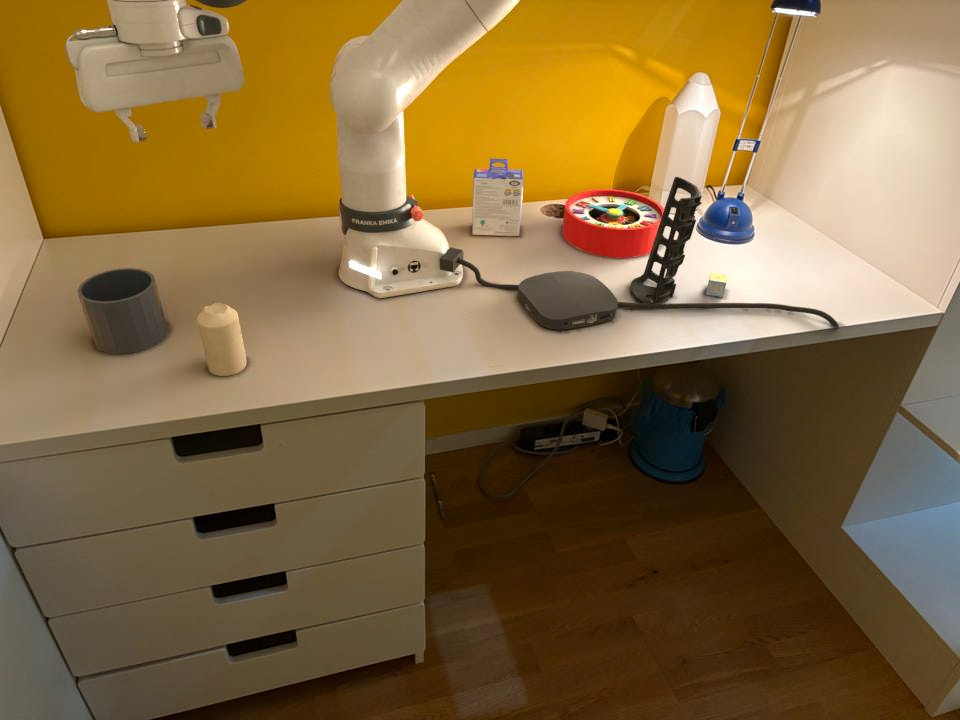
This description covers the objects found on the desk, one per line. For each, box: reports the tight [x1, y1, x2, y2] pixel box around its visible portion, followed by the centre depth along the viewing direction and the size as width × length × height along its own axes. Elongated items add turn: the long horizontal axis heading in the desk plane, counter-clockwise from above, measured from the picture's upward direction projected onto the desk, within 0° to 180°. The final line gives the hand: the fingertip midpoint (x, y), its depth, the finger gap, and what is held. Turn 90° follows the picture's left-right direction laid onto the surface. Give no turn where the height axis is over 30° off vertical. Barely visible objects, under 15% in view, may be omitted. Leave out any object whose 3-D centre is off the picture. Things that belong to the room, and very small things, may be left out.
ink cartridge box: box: [471, 158, 524, 237], centre depth 145 cm, size 10×6×14 cm, turn 89°
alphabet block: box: [705, 272, 729, 298], centre depth 129 cm, size 3×3×3 cm
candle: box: [196, 302, 248, 377], centre depth 105 cm, size 6×6×10 cm
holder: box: [629, 176, 703, 304], centre depth 124 cm, size 11×8×20 cm
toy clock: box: [561, 188, 665, 259], centre depth 147 cm, size 20×6×20 cm
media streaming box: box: [517, 270, 619, 331], centre depth 124 cm, size 15×15×3 cm
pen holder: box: [77, 267, 168, 355], centre depth 111 cm, size 11×11×9 cm
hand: (175, 134), depth 97 cm, fingers open, 8 cm apart
